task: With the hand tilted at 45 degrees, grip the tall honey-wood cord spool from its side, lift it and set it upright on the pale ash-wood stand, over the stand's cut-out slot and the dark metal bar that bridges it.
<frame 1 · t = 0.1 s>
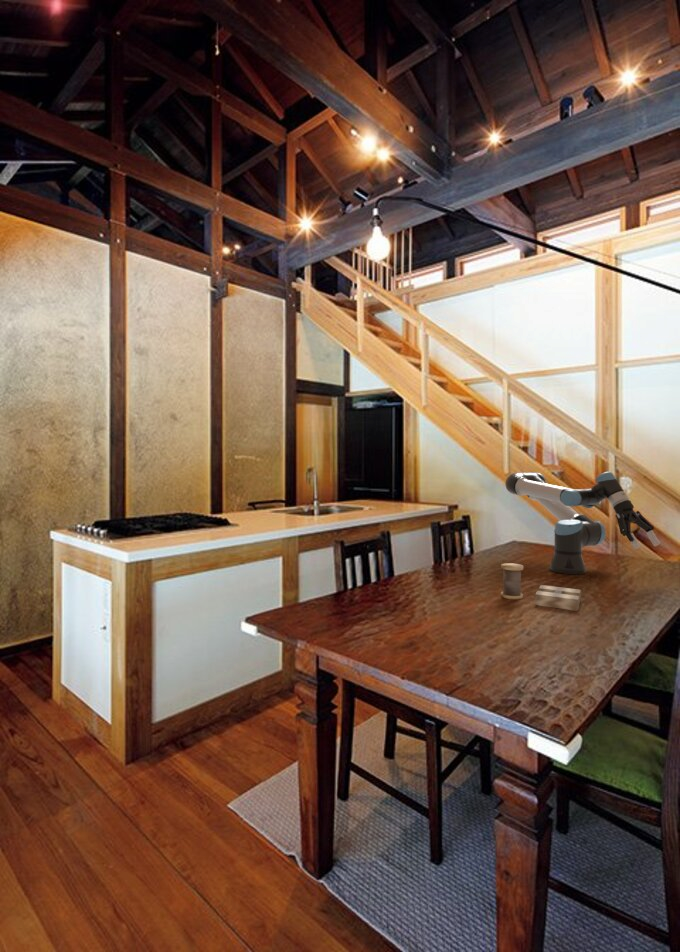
hand: (647, 546, 213), 15 cm above the table, tool tilted 35°, fingers open, 13 cm apart
slotted stand: (558, 602, 185), on the table
cord spool: (511, 596, 193), on the table
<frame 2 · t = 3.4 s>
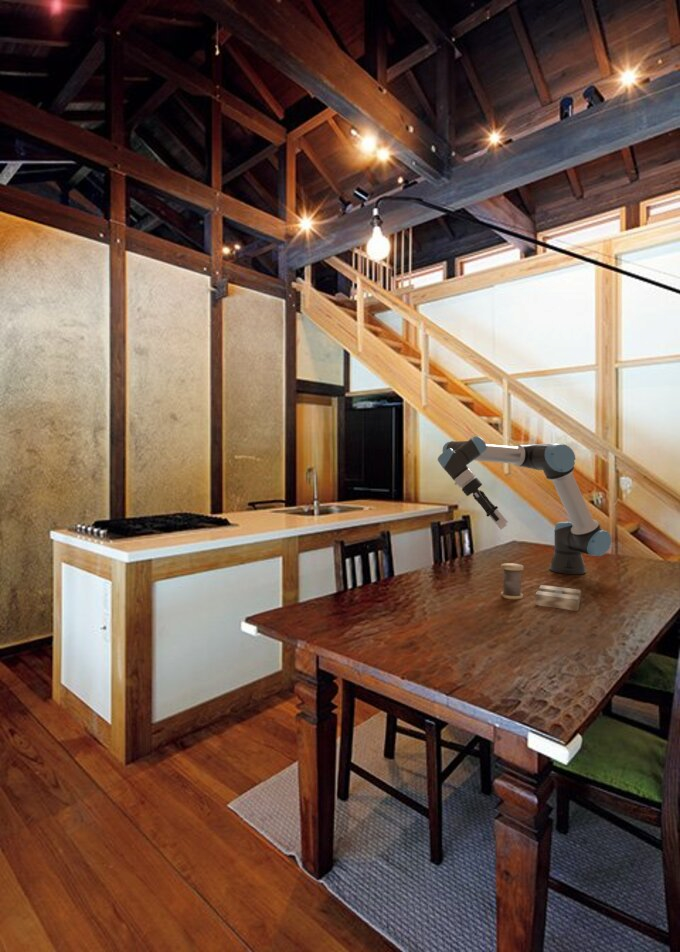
hand: (504, 525, 192), 27 cm above the table, tool tilted 40°, fingers open, 13 cm apart
nothing on the table moved.
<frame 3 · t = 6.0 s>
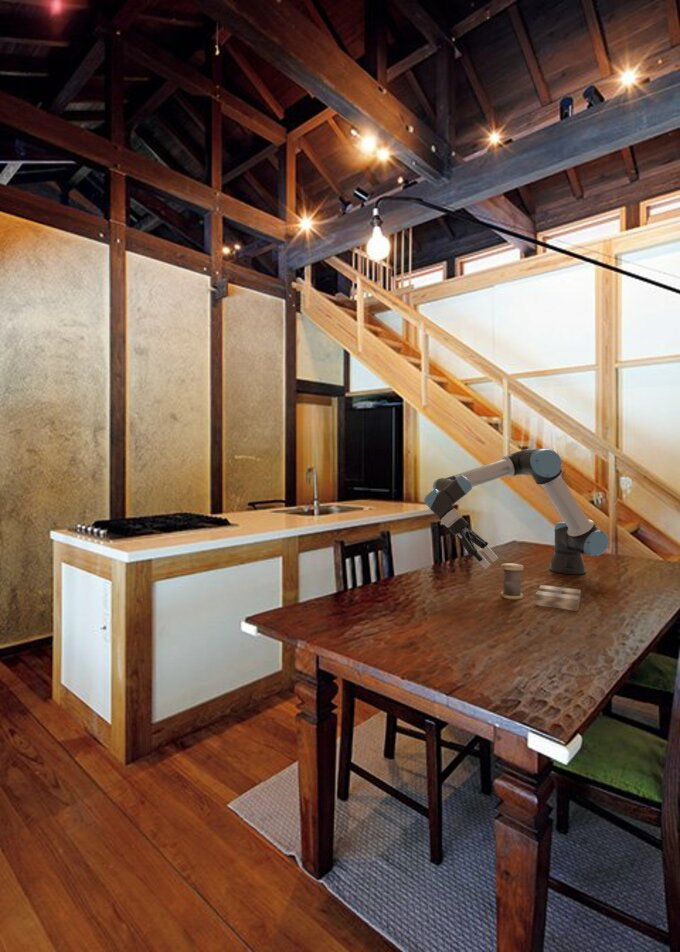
hand: (492, 563, 195), 12 cm above the table, tool tilted 45°, fingers open, 13 cm apart
nothing on the table moved.
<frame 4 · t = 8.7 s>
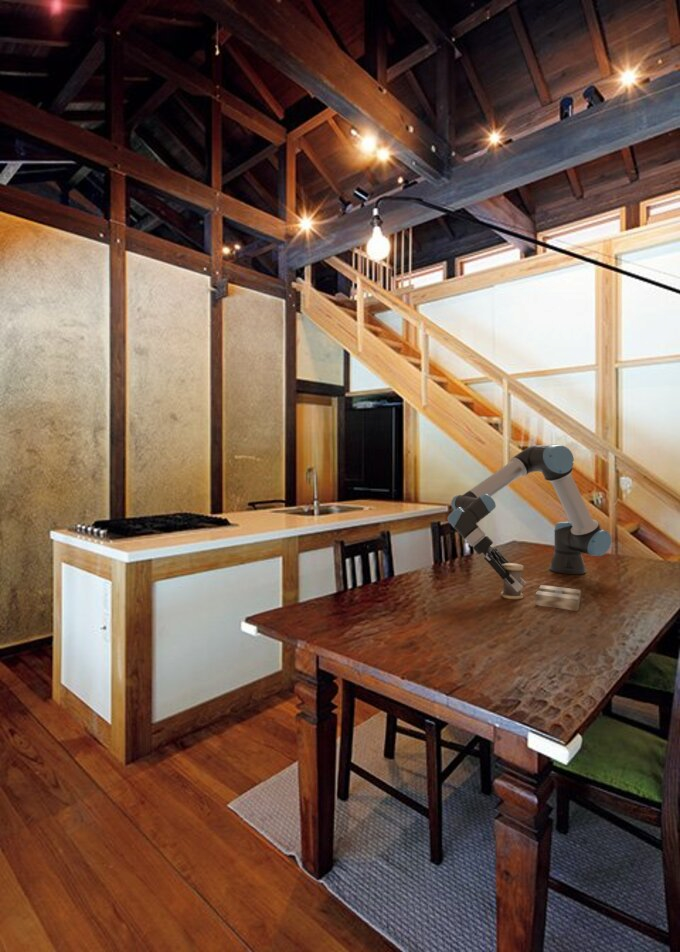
hand: (521, 587, 191), 4 cm above the table, tool tilted 45°, fingers closed on cord spool, 6 cm apart
cord spool: (511, 596, 193), on the table, touching gripper
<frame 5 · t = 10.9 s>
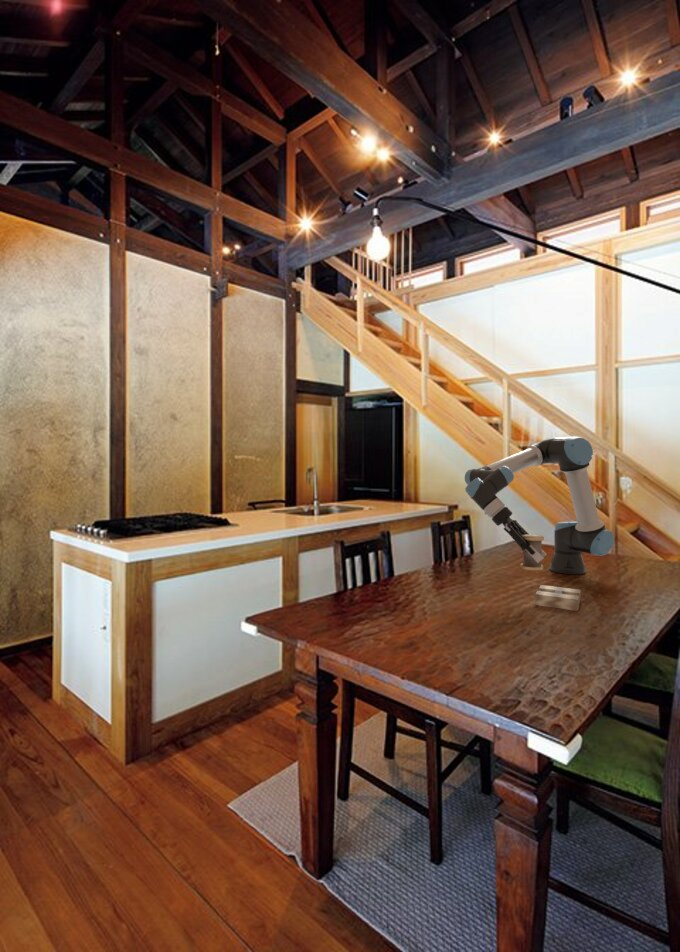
hand: (542, 558, 186), 16 cm above the table, tool tilted 45°, fingers closed on cord spool, 6 cm apart
cord spool: (531, 567, 188), point 12 cm above the table, touching gripper
when the fingers open (9 cm above the table, at t = 13.4 s): cord spool drops 1 cm, resting on slotted stand.
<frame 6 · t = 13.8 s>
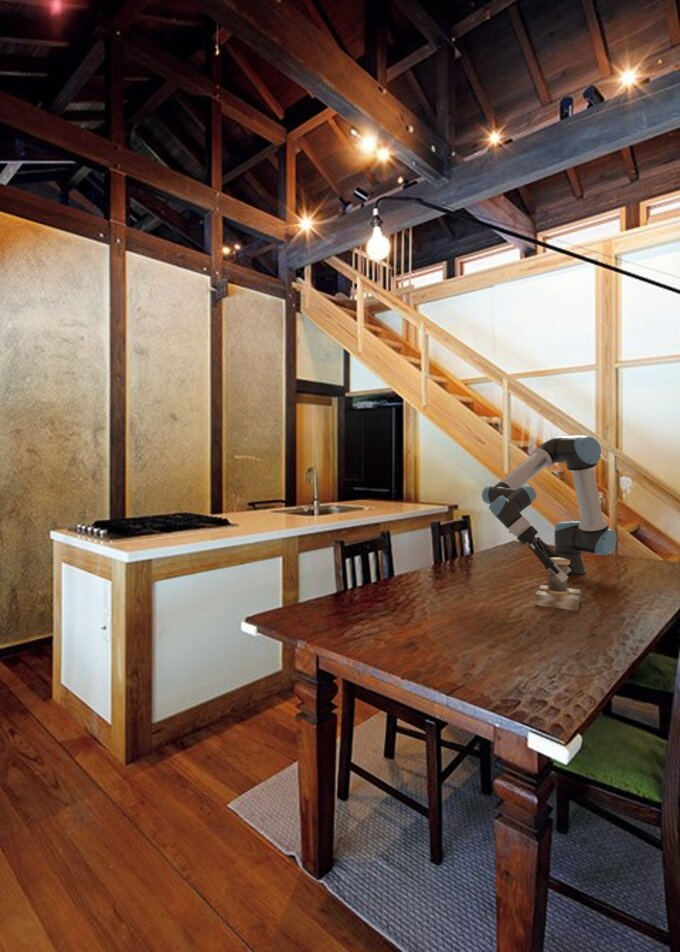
hand: (567, 576, 183), 10 cm above the table, tool tilted 45°, fingers open, 11 cm apart
cord spool: (557, 591, 184), point 4 cm above the table, touching slotted stand
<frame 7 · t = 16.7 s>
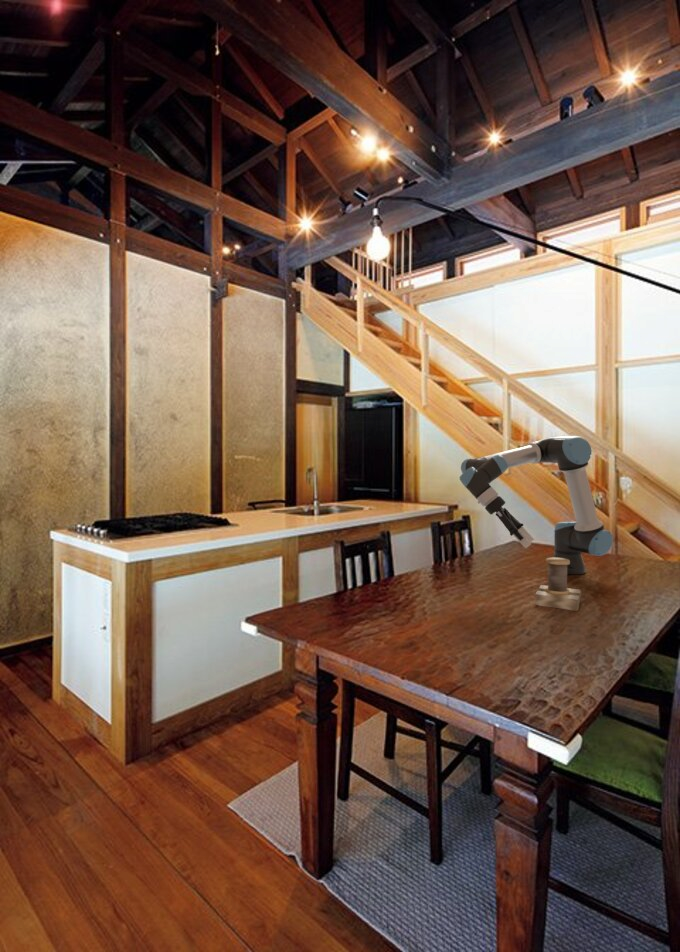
hand: (530, 543, 189), 21 cm above the table, tool tilted 45°, fingers open, 13 cm apart
nothing on the table moved.
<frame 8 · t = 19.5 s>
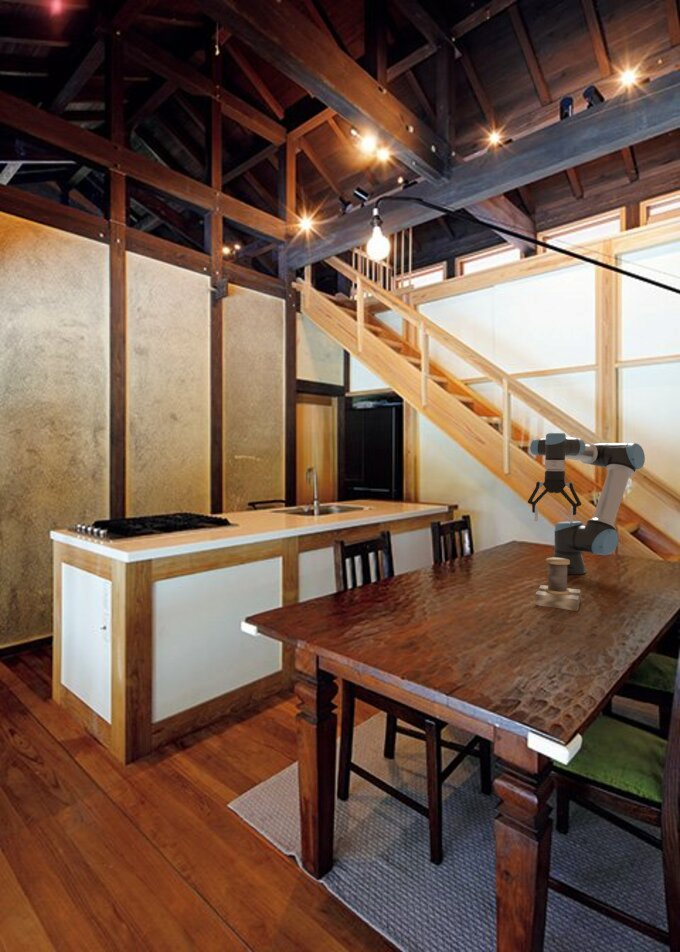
hand: (553, 521, 206), 27 cm above the table, tool pointing down, fingers open, 13 cm apart
nothing on the table moved.
at the end: cord spool inside the target area on the slotted stand (0.4 cm from its centre), point 4.0 cm above the slotted stand's base; cord spool tilted 0°; the gripper is holding nothing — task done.
